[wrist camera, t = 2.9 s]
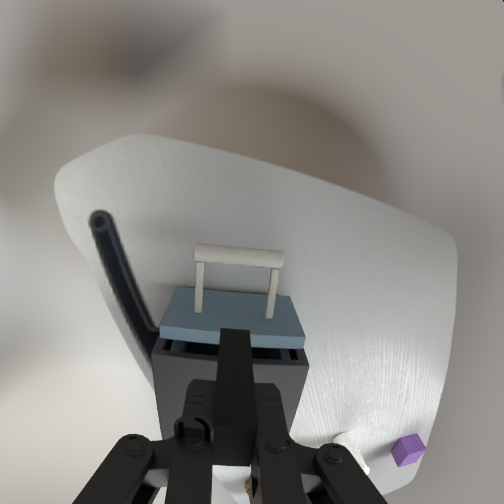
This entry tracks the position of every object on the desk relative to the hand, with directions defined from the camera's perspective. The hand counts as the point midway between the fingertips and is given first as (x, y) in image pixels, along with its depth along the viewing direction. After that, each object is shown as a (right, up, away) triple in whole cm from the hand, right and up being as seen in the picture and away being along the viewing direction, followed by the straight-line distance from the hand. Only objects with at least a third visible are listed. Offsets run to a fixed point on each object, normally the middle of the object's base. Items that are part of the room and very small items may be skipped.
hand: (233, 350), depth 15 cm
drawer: (-1, -2, +15) cm, 16 cm away
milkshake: (+15, -25, +24) cm, 37 cm away
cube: (+31, -32, +26) cm, 51 cm away
